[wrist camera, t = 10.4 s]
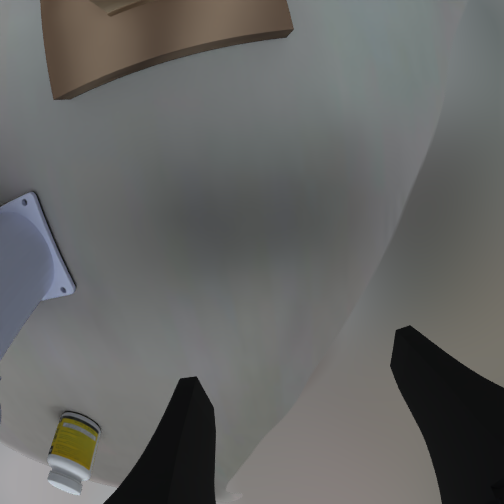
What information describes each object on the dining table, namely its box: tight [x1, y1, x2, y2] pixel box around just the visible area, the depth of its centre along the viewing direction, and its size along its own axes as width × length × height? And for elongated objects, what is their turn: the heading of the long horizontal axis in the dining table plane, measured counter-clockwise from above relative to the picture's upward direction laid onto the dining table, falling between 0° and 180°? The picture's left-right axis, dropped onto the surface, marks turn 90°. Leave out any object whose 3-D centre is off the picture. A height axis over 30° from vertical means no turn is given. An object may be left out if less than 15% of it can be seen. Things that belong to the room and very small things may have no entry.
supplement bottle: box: [47, 412, 101, 495], centre depth 24 cm, size 5×5×10 cm
